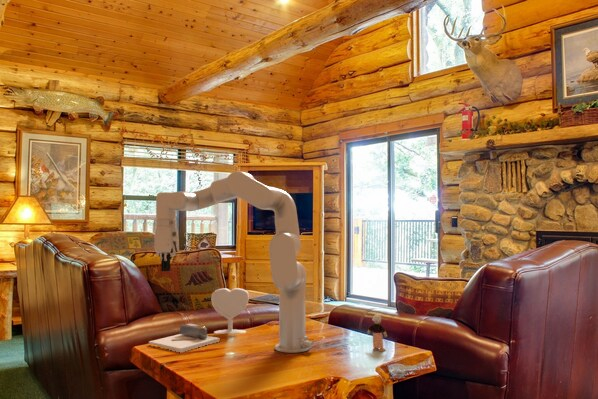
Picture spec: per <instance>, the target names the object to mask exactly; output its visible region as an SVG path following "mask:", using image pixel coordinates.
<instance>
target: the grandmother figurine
mask: <svg viewBox="0 0 598 399" xmlns="http://www.w3.org/2000/svg"><path fill="white" fill-rule="evenodd" d="M371 321H373V323H374V324H371V325H370V326H369V327H368V328H367V329H368V330H367V332H366V333H367V334H368V335H369V334H371V332H372V345H373V346H372V347H373V348H372V351H375V352H376V351H378V352H386V348H384V341H383V340H384V339H383V338H387V337H388V335H387V331H386V329H385V327H384V326H383V325H382V324H381V323H382V315H381V314H380V313H377V314H374V315H373V317H372V320H371Z"/></svg>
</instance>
